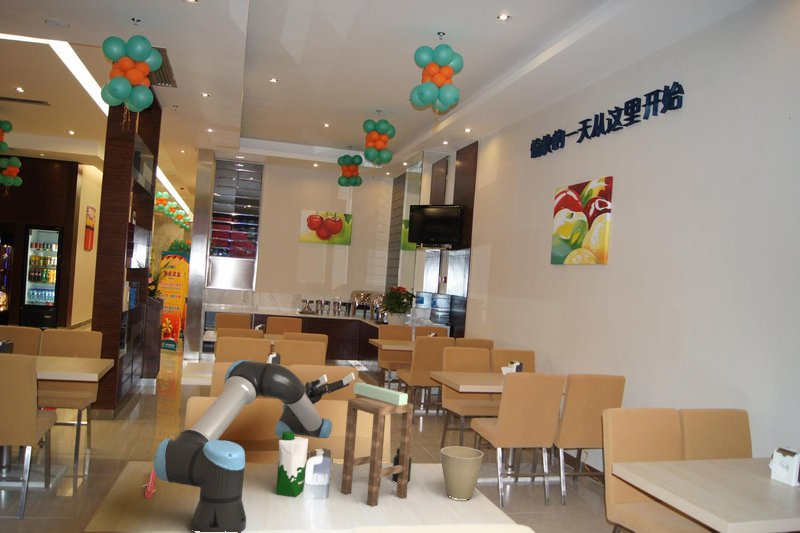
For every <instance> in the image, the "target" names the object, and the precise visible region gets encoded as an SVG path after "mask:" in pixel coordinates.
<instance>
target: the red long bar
mask: <svg viewBox="0 0 800 533" xmlns="http://www.w3.org/2000/svg"><path fill="white" fill-rule="evenodd" d="M155 478H156V474H155V470H154V468H153V469H151V471H150V475H149V479H148V481H147V483H146V484H143V485H142V488H146V489H145V493H144V494H145V498H146V499H148V498H150V497H151V498H152V497H153V493H154V492H156V491H157V489H156V488H155ZM144 486H147V487H144Z"/></svg>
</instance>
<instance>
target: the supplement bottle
mask: <svg viewBox="0 0 800 533" xmlns="http://www.w3.org/2000/svg"><path fill="white" fill-rule="evenodd" d="M399 453H400V446H399V447H397V448H396V454H395V455H394V456H393V457H392V458H393V459H392V466H397V465H399ZM412 461H413V460H412V457H411V456H410V457H409V471H408V482H409V481H410V482H411V476H412V475H411V474H412V463H413V462H412ZM391 475H392V477H391V480H392V482H393V481H395V482H397V481H398V473H396V474H391ZM395 482H394V483H395ZM410 482H409V483H410Z"/></svg>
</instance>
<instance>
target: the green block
mask: <svg viewBox="0 0 800 533" xmlns="http://www.w3.org/2000/svg"><path fill="white" fill-rule="evenodd" d="M353 384H354V385H353V394H357V395H360V396H363V397H366V398H367V397H371V398H374V399H378V400H382V401H385V402H389V403H393V404H396V405H404V404H407V403H408V400H409V399H408V398H409V396H408V393H406V392H401V391H397V390H394V389H393V390H392V389H390V388H386V387H381V386H377V385H373V384H368V383H365V382H356V383H353Z"/></svg>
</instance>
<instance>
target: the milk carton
mask: <svg viewBox="0 0 800 533" xmlns="http://www.w3.org/2000/svg"><path fill="white" fill-rule="evenodd" d="M308 443H309V438H307V437H302V436H295V434H294V432H291V431H285V432H283V434H282V438H280V439H279V440H278V460H277V461H278V463H277V475H276V487H275V488H276V490H275V495H276V494H277V496H284V497H290V496H291V498H297V497H298V496H299V495H300V494H301V493H303V492H304V487H305V479H306V470H307V457H308V455H307V454H308V448H309V447H308V445H309V444H308Z"/></svg>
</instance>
